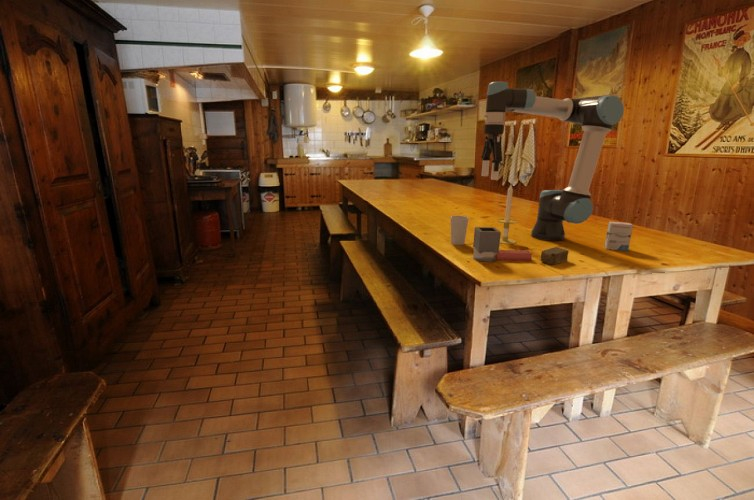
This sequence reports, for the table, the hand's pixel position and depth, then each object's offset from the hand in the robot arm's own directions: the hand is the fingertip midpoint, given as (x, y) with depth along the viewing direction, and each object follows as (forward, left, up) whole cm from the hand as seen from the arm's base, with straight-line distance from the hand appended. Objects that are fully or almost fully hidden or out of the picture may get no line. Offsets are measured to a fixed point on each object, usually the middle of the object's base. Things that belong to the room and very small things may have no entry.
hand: (489, 177), depth 165 cm
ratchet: (-4, +14, -31) cm, 34 cm away
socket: (+3, +14, -27) cm, 30 cm away
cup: (+9, -9, -31) cm, 33 cm away
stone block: (-24, +17, -31) cm, 42 cm away
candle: (-14, -13, -31) cm, 36 cm away
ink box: (-60, -2, -31) cm, 67 cm away
